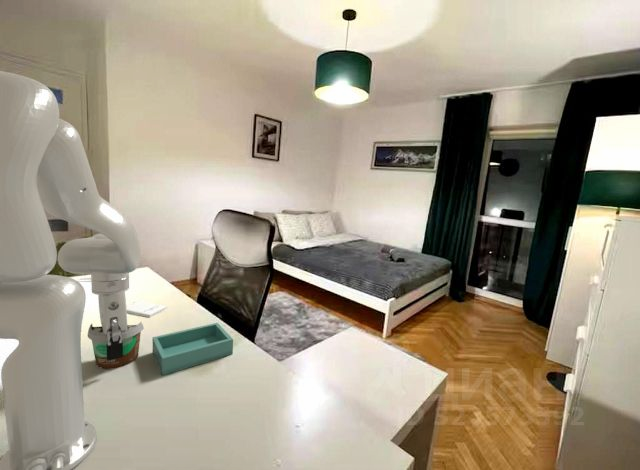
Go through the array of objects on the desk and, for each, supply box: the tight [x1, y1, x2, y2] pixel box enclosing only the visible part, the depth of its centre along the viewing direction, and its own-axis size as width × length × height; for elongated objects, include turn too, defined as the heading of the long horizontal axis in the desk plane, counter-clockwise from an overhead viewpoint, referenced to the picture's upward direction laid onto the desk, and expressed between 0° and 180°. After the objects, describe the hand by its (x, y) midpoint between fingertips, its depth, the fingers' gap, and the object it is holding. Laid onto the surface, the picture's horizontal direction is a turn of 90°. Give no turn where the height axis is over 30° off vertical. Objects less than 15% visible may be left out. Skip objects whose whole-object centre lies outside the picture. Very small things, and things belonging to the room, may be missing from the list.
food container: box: [87, 321, 145, 370], centre depth 76 cm, size 12×6×10 cm, turn 105°
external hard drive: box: [126, 300, 168, 318], centre depth 109 cm, size 2×8×12 cm
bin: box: [152, 322, 234, 376], centre depth 84 cm, size 12×18×4 cm, turn 129°
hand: (113, 349), depth 76 cm, fingers open, 8 cm apart
